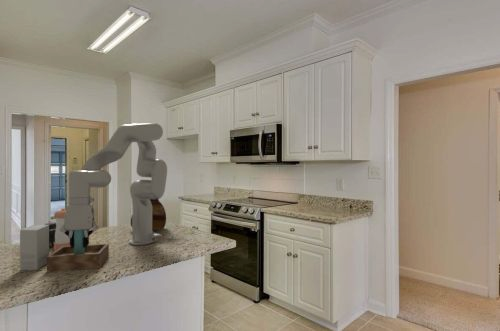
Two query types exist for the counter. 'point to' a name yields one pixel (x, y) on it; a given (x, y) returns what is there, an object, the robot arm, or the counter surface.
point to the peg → (78, 242)
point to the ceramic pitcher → (157, 215)
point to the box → (77, 258)
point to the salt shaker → (60, 237)
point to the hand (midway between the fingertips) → (79, 246)
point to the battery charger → (51, 233)
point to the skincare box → (34, 247)
